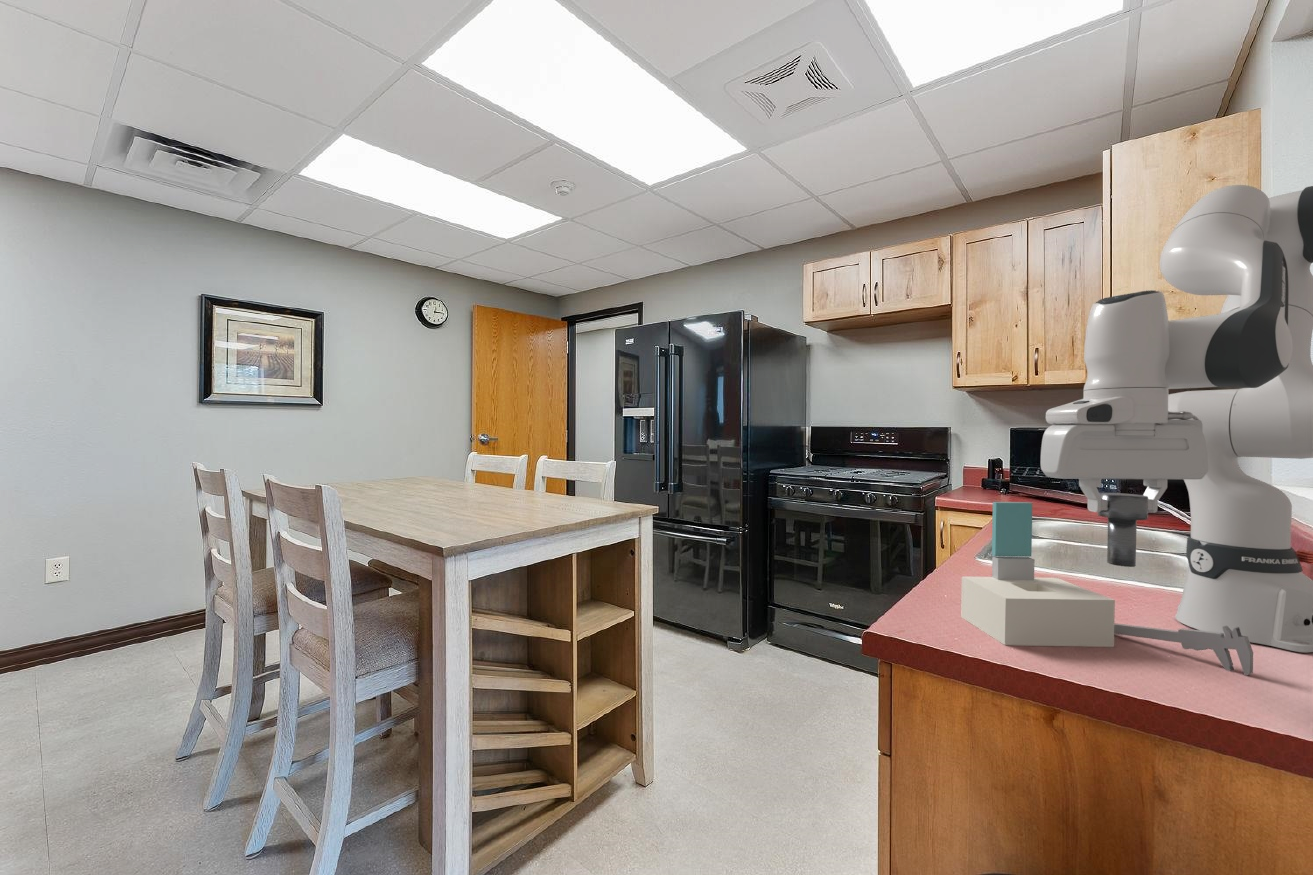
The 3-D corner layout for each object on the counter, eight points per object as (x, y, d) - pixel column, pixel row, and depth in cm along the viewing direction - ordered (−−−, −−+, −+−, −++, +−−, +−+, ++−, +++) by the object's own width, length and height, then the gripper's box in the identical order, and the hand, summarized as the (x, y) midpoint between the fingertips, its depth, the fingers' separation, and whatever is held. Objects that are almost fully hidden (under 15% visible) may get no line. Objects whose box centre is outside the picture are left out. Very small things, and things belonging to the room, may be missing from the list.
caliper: (1253, 677, 72) (1254, 629, 71) (1249, 678, 71) (1250, 631, 71) (1078, 626, 90) (1079, 588, 90) (1074, 627, 90) (1075, 589, 89)
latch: (1031, 556, 91) (1027, 555, 92) (1032, 503, 91) (1028, 502, 92) (995, 555, 92) (991, 554, 93) (996, 502, 91) (992, 501, 92)
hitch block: (1055, 618, 93) (1057, 557, 92) (1113, 646, 81) (1115, 576, 80) (961, 617, 93) (962, 555, 93) (1004, 645, 81) (1006, 574, 81)
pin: (1124, 559, 77) (1125, 492, 77) (1157, 569, 72) (1159, 497, 72) (1087, 559, 77) (1088, 492, 77) (1117, 568, 72) (1119, 497, 72)
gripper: (1179, 412, 77) (1177, 509, 78) (1033, 411, 78) (1032, 508, 78) (1225, 410, 71) (1222, 516, 71) (1066, 410, 71) (1064, 515, 72)
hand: (1121, 511), depth 75 cm, fingers closed on pin, 5 cm apart
